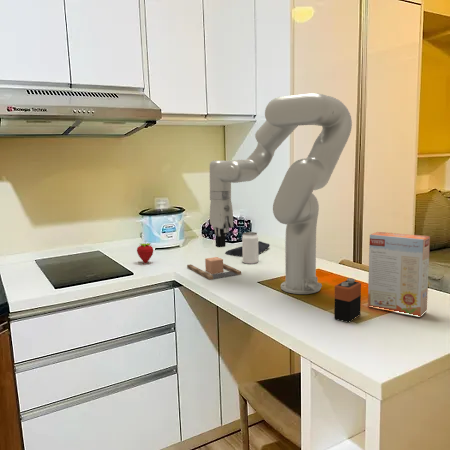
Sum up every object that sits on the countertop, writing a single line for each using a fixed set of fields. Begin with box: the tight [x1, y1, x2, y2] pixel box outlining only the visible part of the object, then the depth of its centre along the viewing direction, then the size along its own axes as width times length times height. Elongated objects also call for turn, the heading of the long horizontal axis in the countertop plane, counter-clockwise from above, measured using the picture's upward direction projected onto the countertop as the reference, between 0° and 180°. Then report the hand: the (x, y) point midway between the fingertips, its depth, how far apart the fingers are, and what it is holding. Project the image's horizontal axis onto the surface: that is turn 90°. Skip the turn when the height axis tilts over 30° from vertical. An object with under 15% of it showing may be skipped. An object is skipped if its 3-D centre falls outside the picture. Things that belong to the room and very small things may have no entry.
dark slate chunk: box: [224, 240, 271, 258], centre depth 191 cm, size 15×22×5 cm
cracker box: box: [367, 231, 431, 316], centre depth 112 cm, size 14×6×21 cm, turn 48°
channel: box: [186, 262, 242, 281], centre depth 159 cm, size 20×13×1 cm, turn 28°
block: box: [204, 256, 224, 275], centre depth 158 cm, size 5×5×5 cm
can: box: [241, 231, 259, 265], centre depth 170 cm, size 6×6×12 cm
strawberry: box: [136, 241, 154, 264], centre depth 173 cm, size 6×8×10 cm
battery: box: [333, 277, 362, 323], centre depth 109 cm, size 4×7×10 cm, turn 137°
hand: (220, 246), depth 151 cm, fingers closed
